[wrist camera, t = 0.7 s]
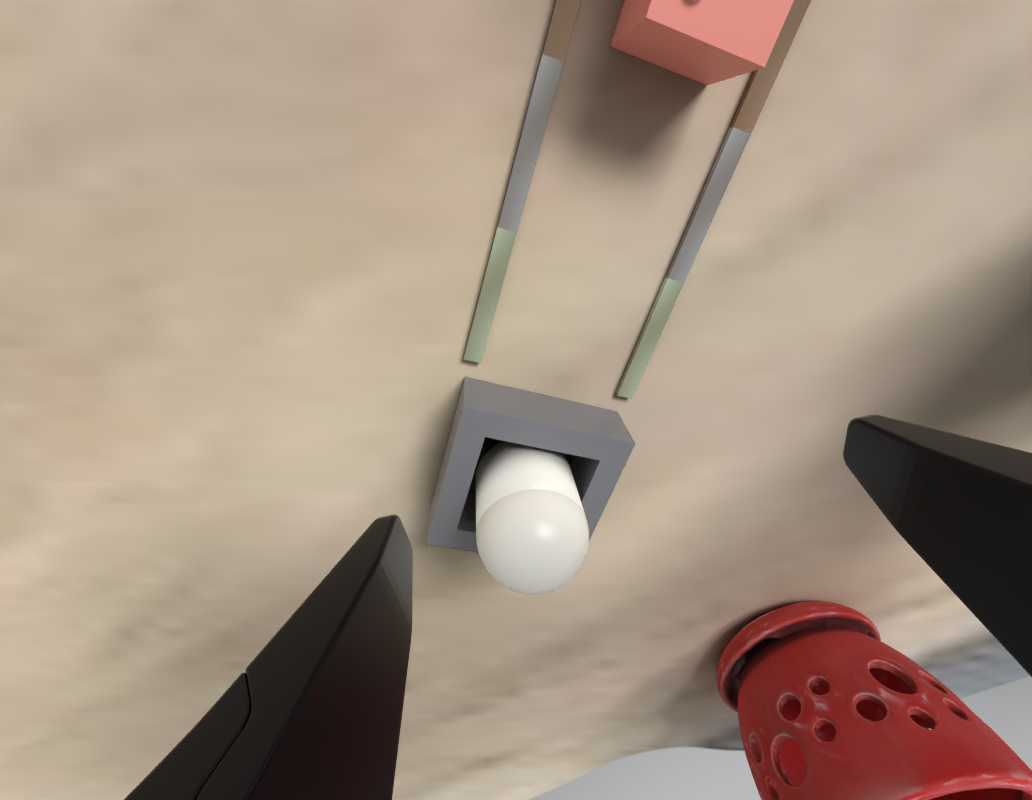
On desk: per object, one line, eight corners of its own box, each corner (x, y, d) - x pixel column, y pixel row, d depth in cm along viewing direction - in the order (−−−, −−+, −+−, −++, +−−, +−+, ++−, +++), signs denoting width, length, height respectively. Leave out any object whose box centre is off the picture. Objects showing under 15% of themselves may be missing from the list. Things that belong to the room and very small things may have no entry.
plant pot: (840, 687, 38) (983, 894, 27) (684, 698, 37) (770, 918, 26) (907, 573, 32) (1125, 782, 21) (723, 582, 31) (856, 806, 20)
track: (833, -61, 16) (839, -64, 16) (629, 396, 23) (631, 399, 23) (601, -177, 14) (604, -184, 14) (463, 356, 22) (463, 359, 21)
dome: (583, 447, 23) (620, 542, 17) (553, 520, 25) (576, 627, 19) (489, 427, 22) (495, 521, 16) (465, 505, 24) (463, 613, 18)
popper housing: (617, 411, 24) (635, 443, 21) (566, 527, 27) (576, 567, 25) (465, 376, 22) (463, 406, 20) (431, 504, 26) (426, 544, 23)
